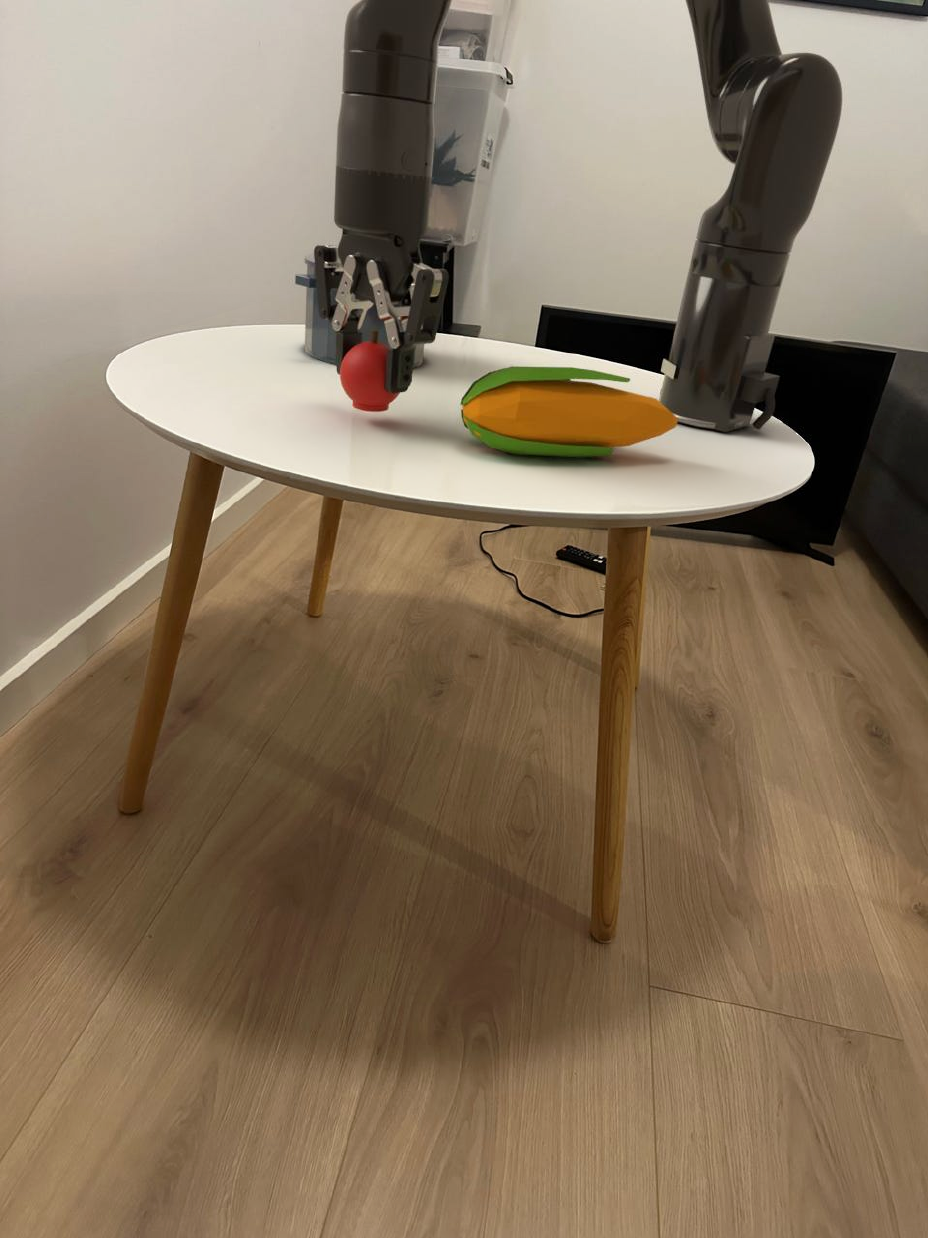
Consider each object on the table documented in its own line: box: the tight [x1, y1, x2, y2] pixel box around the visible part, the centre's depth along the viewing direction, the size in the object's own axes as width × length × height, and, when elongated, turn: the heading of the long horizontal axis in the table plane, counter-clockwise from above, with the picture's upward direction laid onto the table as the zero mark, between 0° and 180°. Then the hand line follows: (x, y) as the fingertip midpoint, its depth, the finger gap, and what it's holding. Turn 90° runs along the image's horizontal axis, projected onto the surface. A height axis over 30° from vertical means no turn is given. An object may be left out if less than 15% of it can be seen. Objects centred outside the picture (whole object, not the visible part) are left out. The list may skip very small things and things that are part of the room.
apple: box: [339, 330, 400, 413], centre depth 74 cm, size 6×6×7 cm
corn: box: [459, 365, 679, 458], centre depth 73 cm, size 7×8×20 cm
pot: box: [294, 264, 425, 369], centre depth 98 cm, size 14×19×10 cm
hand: (371, 382), depth 75 cm, fingers closed on apple, 5 cm apart
